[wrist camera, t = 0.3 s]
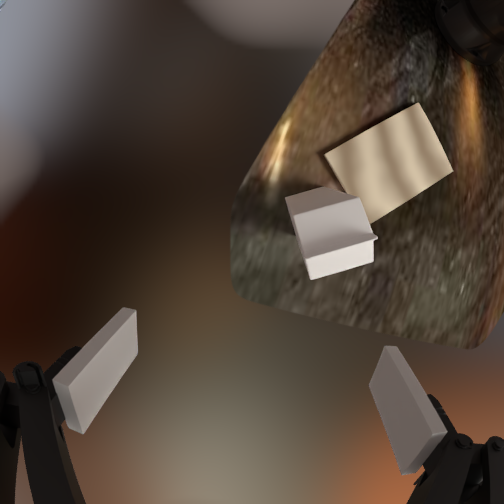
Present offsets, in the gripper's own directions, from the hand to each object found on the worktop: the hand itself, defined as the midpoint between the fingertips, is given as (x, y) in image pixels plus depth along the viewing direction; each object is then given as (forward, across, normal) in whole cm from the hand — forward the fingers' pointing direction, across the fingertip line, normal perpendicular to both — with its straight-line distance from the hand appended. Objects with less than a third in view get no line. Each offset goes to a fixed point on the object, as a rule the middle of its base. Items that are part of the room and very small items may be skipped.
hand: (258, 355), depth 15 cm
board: (+31, +17, +14) cm, 38 cm away
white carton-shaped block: (+31, +6, +4) cm, 32 cm away
